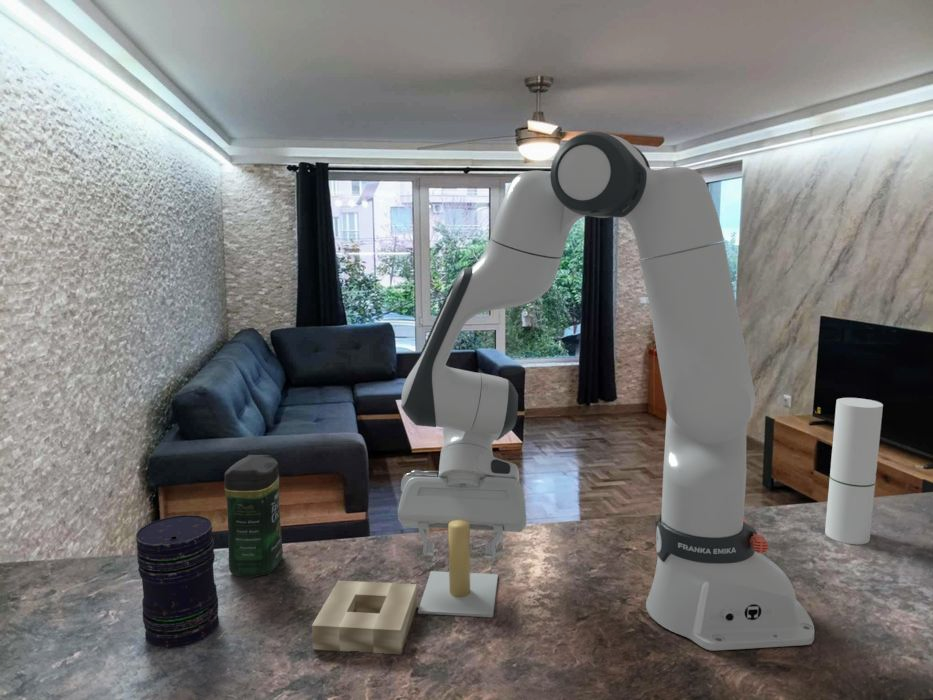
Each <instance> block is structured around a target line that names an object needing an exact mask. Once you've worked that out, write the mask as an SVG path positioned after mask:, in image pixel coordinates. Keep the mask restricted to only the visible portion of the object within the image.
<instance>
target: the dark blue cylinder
mask: <svg viewBox="0 0 933 700" xmlns="http://www.w3.org/2000/svg"><path fill="white" fill-rule="evenodd" d="M135 539H136V557H137V558H136V560H137V564H138V570H137V571H138V573H139V577H140V578H141V582H142V584H141V585H142V592H143V594H142V595H143V597H142V601H141V602H142V614H141V615H142V622H143V625H144V630H145V632H144V635H145V641H146V643H147V644H148V645H149V646H151V647H153V648H157V649H161V650H174V649H175V650H176V649H182V648H185V647H189V646H192V645H195V644H197V643H200V642H202V641H204V640H206V639H207V638H209V637H210V636H212V634H213V633H215V632H216V630H217V629H218V627H219V624H220V621H219V620H220V618H219V597H218V591H217V585H216V583H215V575H214V563H215V557H216V556H215V552H214V550H215V541H214V537H213V525H212V521H211V520H210V519H209V518H207V517H204V516H202V515H201V516H200V515H193V514H189V515H188V514H186V515H185V514H184V515H183V514H182V515H175V516H169V517H165V518H162V519H158V520H154V521H153V522H149V523H148V524H146V525H144V526H142V527H141V528H139V530H138V531H137V532H136V535H135Z"/></svg>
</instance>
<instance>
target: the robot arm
mask: <svg viewBox="0 0 933 700" xmlns="http://www.w3.org/2000/svg"><path fill="white" fill-rule="evenodd" d="M550 166H551V167H550V172H548V171H545V170H537V169H536V170H528V171H524V172H521V173H520V174H518V175H516V176H515V177H514V178H513V179H512V181H511V182H510V184H509V187H508V189H507V190H506V193H505V194H504V197H503V200H502V202H501V204H500V205H499V209H498V211H497V214H496V218H495V221H494V222H493V226H492V230H491V234H490V237H489V241H488V244H487V247H486V249H485V250H484V252H483V254H482V255H481V256H480V258H479V259H478V260H477V261H476V262H475V263H474V264H473V265H472V266H469V267H466V268H463V269H461V270H460V271H459V272H458V274H457V275H456V277H455V278H454V280H453V282H452V284H451V286H450V288H449V289H448V292H447V294H446V295H445V298H444V301H443V303H442V304H441V306H440V309H439V310H438V313H437V316H436V318H435V320H434V322H433V324H432V327H431V329H430V331H429V333H428V335H427V338H426V340H425V343H424V345H423V347H422V349H421V352H420V353H419V355H418V357H417V360H416V361H415V363H414V365H413V367H412V369H411V371H410V372H409V373H408V375H407V377H406V379H405V381H404V384H403V387H402V391H401V397H400V398H401V401H400V402H401V405H400V406H401V409H402V410H403V412H404V414H405V415H406V416H407V418H409V420H410V421H411V422H412V423H413V424H414V425H415V426H420V427H431V428H438V427H439V428H442V434H443V439H444V440H443V445H442V447H441V450H440V454H439V455H440V456H439V465H438V470H424V471H423V470H420V469H419V470H418V469H416V470H415V469H414V470H412V471H411V472H408V473H406V474H404V476H403V477H402V478H401V483H400V492H401V495H400V498H399V499H400V500H399V503H398V508H397V518H398V520H399V522H400V523H401V525H402V526H403V527H404V528H417V529H418V532H419V535H420V537H421V539H422V542H423V546H422V547H423V549H422V554H423V555H424V556H435V551H434V550H435V549H436V548H435V542H434V541H433V540H429V539H428V537H427V535H429V533H430V529H440V530H441V529H442V530H448V524H449V523H450V522H452V521H455V520H464V521H467V522H469V524H470V531H490V532H492V531H493V535H494V538H493V539H492V541H491V542H490V543H488V542H487V543H486V542H485V546H484V549H485V550H484V558H485V559H495V558H496V548H498V546H499V545H500V543H501V541H502V540H503V538H504V532H509V533H510V532H511V533H513V532H514V533H515V532H516V533H519V532H523V530H524V529H525V528H526V526H527V513H526V512H527V509H526V499H525V493H524V488H523V485H522V484H521V483H520V472H519V468H518V465H517V464H516V463H514V462H510V461H507V460H504V459H501V458H498V457H496V456H494V453H493V452H494V451H493V443H494V441H499V440H500V439H502V438H503V437H506V435H507V434H508V433H510V432H511V431H512V430H513V429H514V428H515V426H516V423H517V420H518V410H519V409H518V408H519V394H518V392H517V390H516V387H515V386H514V384H513V383H512V382H511V381H510V380H509V379H507V378H503V377H501V376H497V375H494V374H488V373H483V372H474V371H470V370H465V369H460V368H454V367H452V366H451V367H450V366H448V365H447V362H448V360H449V358H450V355H451V353H452V352H453V349H454V347H455V344H456V342H457V341H458V338H459V336H460V334H461V331H462V329H463V327H464V326H465V324H467V322H468V321H469V320H471V319H472V318H473V317H475V316H477V315H480V314H483V313H487V312H490V311H494V310H495V311H496V310H503V309H509V308H516V307H521V306H524V305H527V304H529V303H532V302H534V301H536V300H538V299H539V298H541V297H542V296H543V295H545V294H546V293H547V292H548V291H549V290H550V289H551V287H552V285H553V283H554V281H555V279H556V276H557V273H558V270H559V267H560V265H561V261H562V258H563V254H564V251H565V248H566V244H567V241H568V237H569V235H570V232H571V230H572V228H573V226H574V225H575V224H576V223H577V222H578V221H579V220H580V219H582V218H584V217H585V218H593V217H594V218H600V219H606V218H622V219H624V220H625V221H627V222H628V224H629V225H630V227H631V229H632V231H633V234H634V236H635V241H636V246H637V250H638V256H639V259H640V261H639V262H640V266H641V271H642V277H643V281H644V286H645V291H646V295H647V300H648V305H649V310H650V316H651V322H652V328H653V335H654V341H655V343H654V344H655V348H656V354H657V360H658V368H659V372H660V379H661V385H662V390H663V396H664V401H665V407H666V420H665V434H664V435H665V438H664V440H665V441H664V455H663V466H662V467H663V468H662V469H663V470H662V471H663V472H662V495H661V499H662V500H661V512H660V513H659V515H658V520H657V526H656V537H655V539H656V540H655V541H656V542H655V544H656V545H655V549H656V553H657V561H656V566H655V571H654V577H653V581H652V583H651V587H650V590H649V593H648V596H647V599H646V602H645V609H646V611H647V613H648V615H649V616H650V618H652V620H654V621H655V622H656V623H657V624H659V625H660V626H662V627H663V628H665V629H666V630H669V631H670V632H673V633H674V634H678V635H680V636H683V637H685V638H687V639H689V640H691V641H692V642H694V643H695V644H697V645H698V646H700V647H701V648H703V649H705V650H708V651H727V650H731V651H732V650H746V649H761V648H779V647H794V646H797V647H798V646H806V645H807V646H809V645H812V644H813V642H814V640H815V636H816V635H815V626H814V623H813V621H812V618H811V616H810V615H809V613H808V611H807V610H806V609H805V608H804V606H803V605H802V604H801V603H800V602H799V601H798V600H797V595H796V592H795V588H794V586H793V584H792V582H791V580H790V579H789V577H788V576H787V575H786V573H785V572H784V570H782V569H781V567H779V566H778V565H777V564H776V563H775V562H774V561H772V560H771V559H769V558H768V557H767V556H766V555H764V554H765V553H766V552H767V551H768V550H769V547H770V546H769V543H768V542H767V540H766V539H765V537H764V536H763V535H761V534H758V533H757V530H756V529H755V528H754V527H753V526H752V525H750V524H749V523H748V522H747V521H746V520H745V519H744V515H745V501H746V500H745V499H746V487H747V486H746V485H747V484H746V483H747V426H748V424H749V422H750V420H752V417H753V414H754V411H755V407H756V393H755V392H756V391H755V387H754V382H753V381H754V380H753V377H752V371H751V368H750V363H749V357H748V353H747V348H746V344H745V339H744V333H743V329H742V324H741V321H740V320H741V319H740V316H739V310H738V307H737V302H736V297H735V291H734V287H733V281H732V277H731V275H732V274H731V271H730V265H729V260H728V254H727V250H726V244H725V239H724V234H723V230H722V226H721V223H720V218H719V215H718V212H717V209H716V205H715V203H714V200H713V197H712V195H711V191H710V189H709V187H708V185H707V183H706V180H705V178H704V177H703V176H702V175H701V173H699V171H696V170H695V169H693V168H689V167H683V166H671V167H666V168H663V169H662V168H661V169H652V168H651V166H650V163H649V162H648V159H647V158H646V156H645V154H643V152H642V151H641V149H639V148H637V147H636V146H635V145H633V144H631V142H629V141H628V140H626V139H625V138H622V137H620V136H617V135H614V134H609V133H607V132H602V131H587V132H583V133H580V134H578V135H574V136H573V137H571V138H569V139H568V140H567V141H566V142H564V143H563V144H562V146H560V148H559V149H558V150H557V152H556V154H555V155H554V157H553V160H552V161H551V165H550Z"/></svg>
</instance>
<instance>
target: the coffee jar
mask: <svg viewBox="0 0 933 700" xmlns="http://www.w3.org/2000/svg"><path fill="white" fill-rule="evenodd" d="M223 486H224V492H225V498H226V499H225V500H226V508H227V531H228V532H227V535H228V540H227V542H228V570H229V572H230V573H231V574H232V575H233V576H234V575H235V576H238V577H242V578H255V577H259V576H264V575H268V574H271V573H272V572H273V571H274V570H275V569H276V568H277V566H278V565H279V563H280V562H281V560H282V558H283V554H284V551H283V538H282V527H281V526H282V525H281V523H282V522H281V509H280V472H279V463H278V461H277V460H276V459H275V458H274V457H272V455H270V454H248V455H247V456H245V457H243V458H241V459H240V460H238V461H236V462H235V463H234V464H233V465H231V466H230V467H229V468H228V469H227V470H226V471H225V472H224V485H223Z"/></svg>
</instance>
